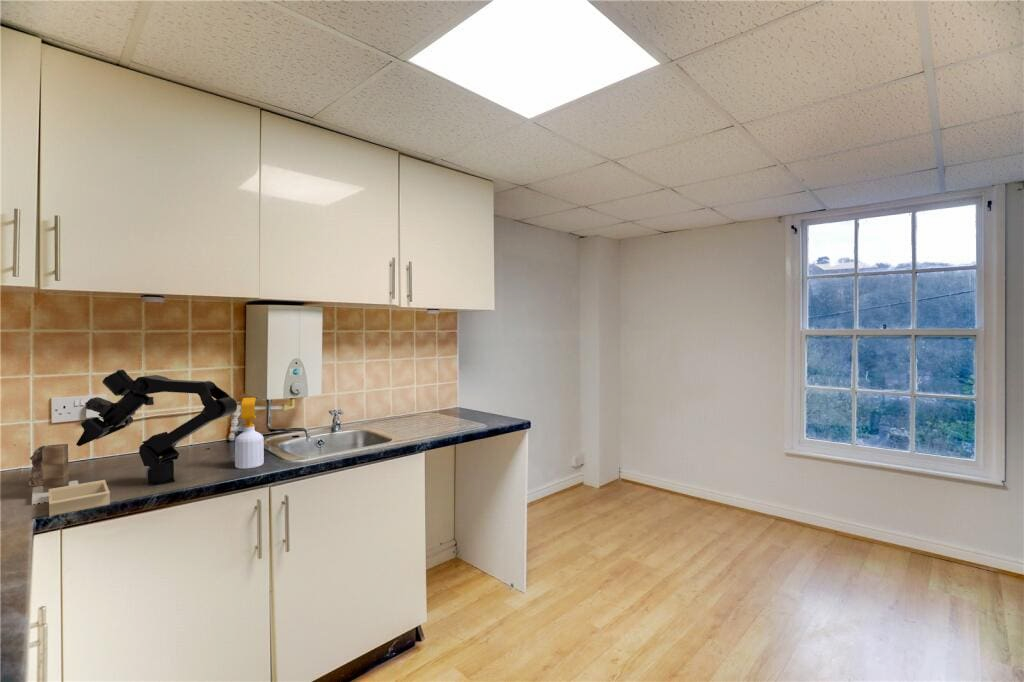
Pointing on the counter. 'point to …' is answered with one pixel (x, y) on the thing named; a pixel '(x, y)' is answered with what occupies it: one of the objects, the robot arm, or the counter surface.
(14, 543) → the counter surface
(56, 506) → the light wooden tray
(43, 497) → the tile
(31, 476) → the figurine
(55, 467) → the walnut box
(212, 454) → the counter surface
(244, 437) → the soap bottle
